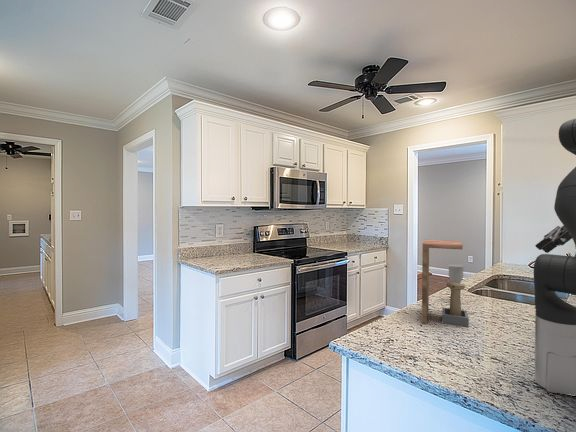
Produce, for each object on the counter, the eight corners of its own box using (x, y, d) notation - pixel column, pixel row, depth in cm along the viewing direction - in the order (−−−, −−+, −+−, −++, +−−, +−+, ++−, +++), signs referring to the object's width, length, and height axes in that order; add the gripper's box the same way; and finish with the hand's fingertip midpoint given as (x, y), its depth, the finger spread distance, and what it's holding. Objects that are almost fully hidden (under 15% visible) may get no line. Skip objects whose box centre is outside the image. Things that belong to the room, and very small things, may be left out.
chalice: (443, 302, 150) (444, 265, 149) (453, 300, 153) (453, 264, 152) (457, 306, 143) (458, 267, 143) (467, 304, 146) (467, 266, 146)
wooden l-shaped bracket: (461, 329, 115) (462, 245, 115) (421, 323, 121) (422, 243, 121) (459, 315, 131) (460, 240, 131) (424, 310, 137) (425, 239, 137)
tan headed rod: (461, 324, 120) (461, 286, 120) (444, 320, 125) (444, 283, 125) (466, 322, 123) (466, 284, 123) (449, 317, 128) (449, 281, 128)
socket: (468, 327, 118) (468, 318, 118) (442, 323, 122) (442, 314, 122) (466, 319, 127) (467, 310, 127) (442, 315, 131) (442, 307, 131)
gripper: (566, 209, 112) (526, 239, 117) (582, 209, 99) (536, 243, 105) (585, 224, 110) (544, 254, 115) (604, 226, 97) (556, 260, 102)
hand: (540, 249), depth 110 cm, fingers open, 8 cm apart
